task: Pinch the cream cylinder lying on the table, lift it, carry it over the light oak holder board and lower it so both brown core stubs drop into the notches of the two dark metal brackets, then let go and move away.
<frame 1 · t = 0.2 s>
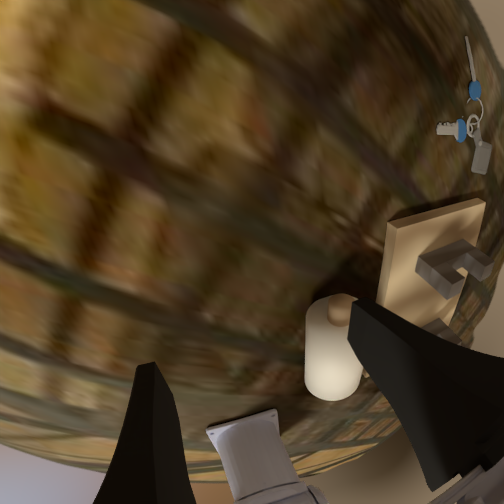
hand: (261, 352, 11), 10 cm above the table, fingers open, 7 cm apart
roll holder: (421, 291, 29), on the table
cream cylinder: (336, 350, 25), point 2 cm above the table
key chain: (458, 120, 21), on the table
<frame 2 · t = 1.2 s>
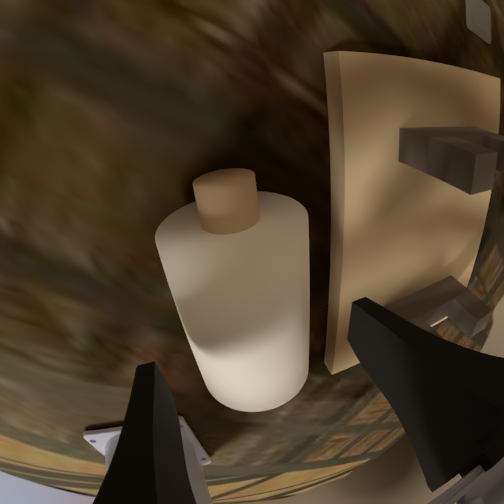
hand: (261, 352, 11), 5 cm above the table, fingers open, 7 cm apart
roll holder: (419, 221, 17), on the table
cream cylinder: (245, 308, 13), point 2 cm above the table
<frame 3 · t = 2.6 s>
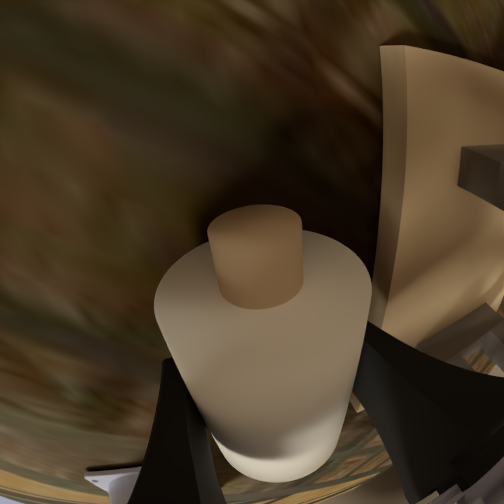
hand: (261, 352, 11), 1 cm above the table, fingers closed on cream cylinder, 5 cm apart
roll holder: (462, 248, 14), on the table
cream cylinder: (272, 377, 10), point 3 cm above the table, touching gripper
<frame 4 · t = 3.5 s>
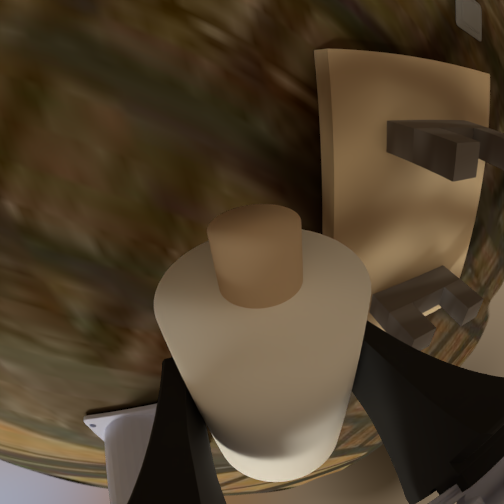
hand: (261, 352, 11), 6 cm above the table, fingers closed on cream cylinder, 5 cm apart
roll holder: (410, 211, 18), on the table
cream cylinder: (272, 376, 10), point 7 cm above the table, touching gripper
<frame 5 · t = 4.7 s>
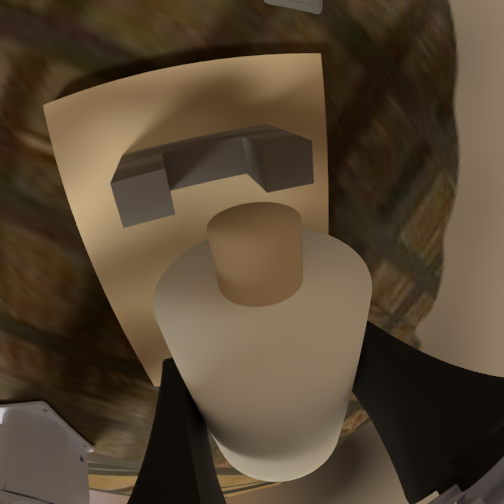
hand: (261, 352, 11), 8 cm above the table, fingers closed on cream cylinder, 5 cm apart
roll holder: (213, 242, 17), on the table
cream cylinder: (272, 375, 10), point 9 cm above the table, touching gripper
when the fingers open (4 cm above the table, at t = 6.4 s): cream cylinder stays where it is, resting on roll holder.
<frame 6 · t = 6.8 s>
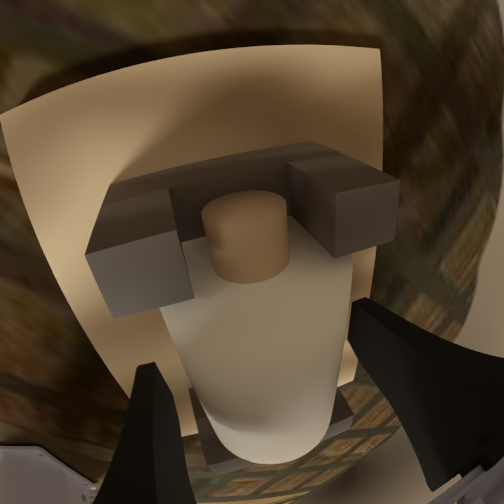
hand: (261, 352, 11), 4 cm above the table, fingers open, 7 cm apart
roll holder: (233, 289, 14), on the table
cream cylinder: (263, 356, 10), point 4 cm above the table, touching roll holder
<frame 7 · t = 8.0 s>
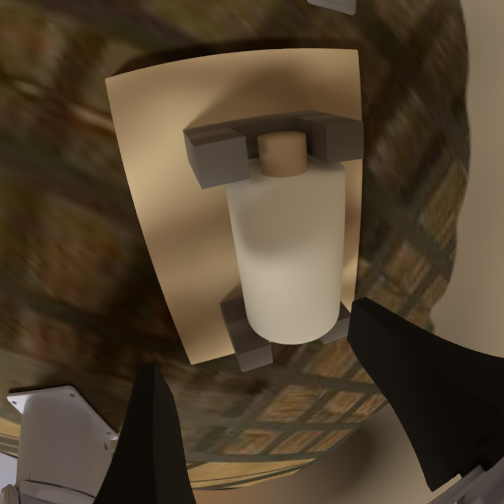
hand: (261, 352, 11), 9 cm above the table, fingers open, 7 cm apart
roll holder: (257, 217, 19), on the table
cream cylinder: (289, 248, 15), point 4 cm above the table, tilted 19°, touching roll holder
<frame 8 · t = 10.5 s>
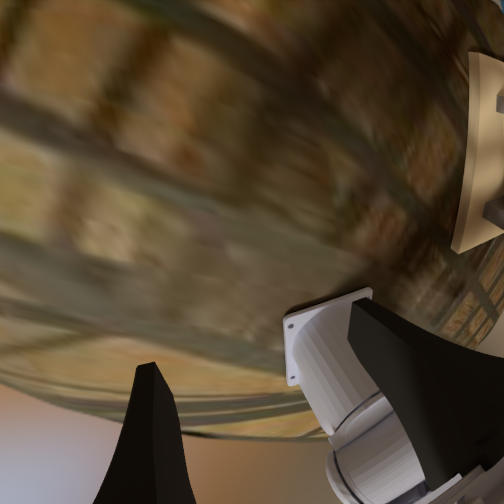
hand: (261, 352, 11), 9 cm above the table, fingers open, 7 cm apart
roll holder: (498, 153, 23), on the table
key chain: (498, 0, 15), on the table
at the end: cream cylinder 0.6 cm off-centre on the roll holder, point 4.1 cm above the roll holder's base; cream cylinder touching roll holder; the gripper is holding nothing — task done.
